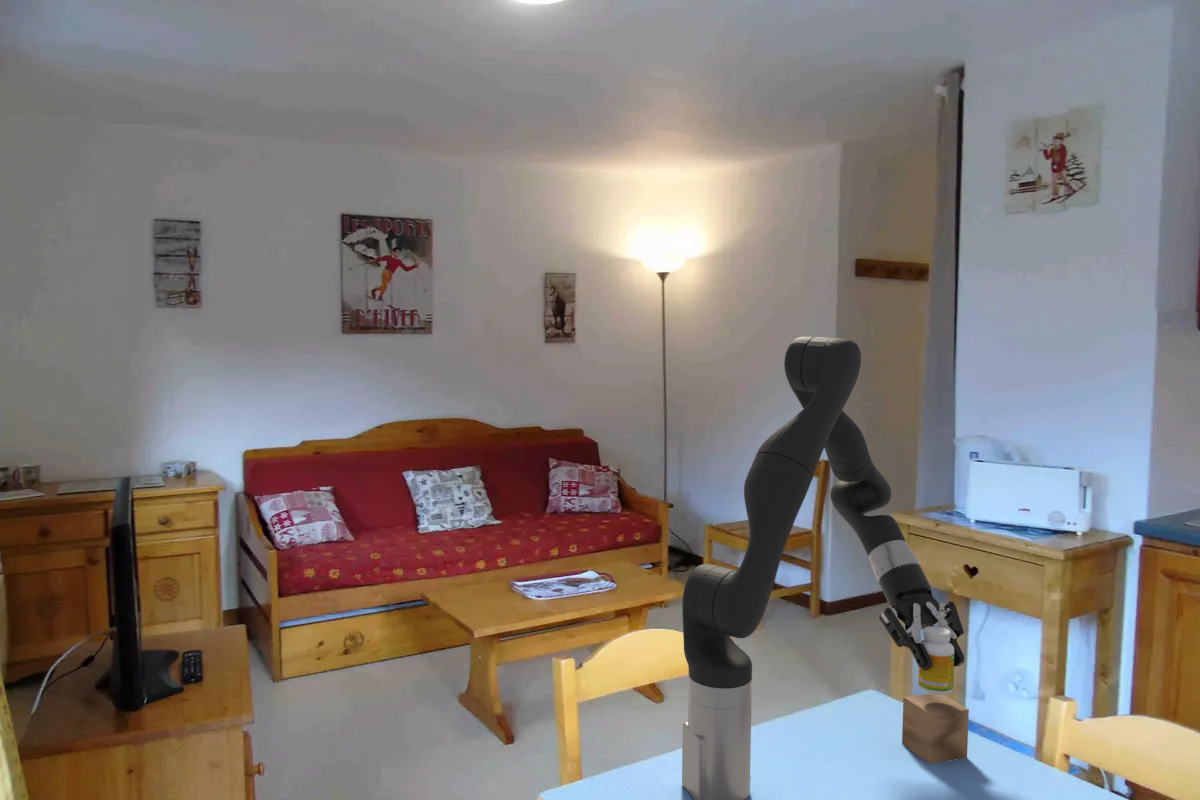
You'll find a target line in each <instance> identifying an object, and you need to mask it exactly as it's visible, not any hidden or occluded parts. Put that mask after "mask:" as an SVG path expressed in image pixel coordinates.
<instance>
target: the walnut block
mask: <svg viewBox="0 0 1200 800" xmlns="http://www.w3.org/2000/svg"><path fill="white" fill-rule="evenodd" d="M902 698H903V700H902V702H903V703H902V731H901V737H902V738H901V739H902V740H901V745H902V746H904V747H905V748H907V749H908V750H910V751H911V752H913V753H914V754H916V755H917V756H918V757H920V758H922V760H924V761H925V762H927V763H928V764H930V765H933V764H938V763H939V764H940V763H945V762H950V761H949V760H951V761H955V759H957V760H962V758H963V759H967V758H968V743H969V742H968V741H969V715H970V714H969V713H970V710H969V708H967V707H966V706H964V705H961V704H960V703H958V702H956V701H954V700H953V699H951V698H949V697H948V696H946V694H944V695H938V694H931V693H922V694H916V695H909V696H903V697H902Z"/></svg>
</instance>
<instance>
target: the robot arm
mask: <svg viewBox="0 0 1200 800" xmlns="http://www.w3.org/2000/svg"><path fill="white" fill-rule="evenodd" d="M861 365H862V352H861V349H860V347H859V346H858V344H857V343H856V342H855V341H854V340H851V339H848V338H847V339H846V338H842V337H825V336H799V337H796V338H794V339H793V340H792V341H791V342H790V343H789V345H788V347H787V348H786V352H785V355H784V371H785V372H784V373H785V375H786V376H785V377H786V379H787V382H788V385H789V386H790V389H791V390H792V392H793V393H794V395H795V397H796V398H797V400H798V402H799V403H800V405H801V407H802V410H800V412H798V413H797V415H795V416H794V417H793V418H791V419H790V420H789V421H787V422H786V423H785V424H783V425H782V426H781V427H779V428H778V429H777V430H776V431H774V432H773V433H772V434H770V436H769V437H768V438H767V439H765V441H764V442H763V443H762V444H761V446H760V447H759V448H758V450H757V452H756V454H755V457H754V460H753V461H752V464H751V466H750V468H749V470H748V473H747V476H746V478H745V480H744V484H743V485H744V486H743V496H744V504H745V509H746V515H747V521H748V527H749V528H748V529H749V538H748V542H747V543H748V544H747V546H746V547H747V548H746V551H745V553H744V556H743V558H742V562H741V564H740V566H739V568H738V569H732V568H730V567H725V566H720V565H716V564H711V563H702V564H700V565H697V566H696V567H695V568H694V569H692V571H691V572H690V573H689V574H688V577H687V579H686V581H685V584H684V588H683V592H682V593H683V594H682V603H681V604H682V605H681V606H682V607H681V608H682V609H681V611H682V635H683V651H684V652H683V653H684V657H685V660H686V663H687V666H688V692H687V693H688V695H687V699H688V701H687V702H688V703H687V704H688V705H687V707H688V708H687V721H684V722H683V723H682V741H681V742H682V743H681V744H682V746H681V747H682V753H681V758H682V759H681V762H682V763H681V785H682V786H683V787H684V789H685V790H686V791H687V792H688V793H689V795H690V796H691V797H692V799H693V800H747V799H748V798H749V796H750V793H751V778H752V777H751V760H752V759H751V758H752V757H751V752H752V751H751V749H752V748H751V747H752V746H751V744H752V702H753V701H752V699H753V694H752V693H753V691H752V689H753V663H752V660H751V658H750V656H749V655H748V654H747V652H745V651H744V650H743V649H742V648H740V647H739V645H737V644H736V643H735V641H734V640H733V639H732V638H736V639H745V638H748V637H750V636H751V635H752V634H753V633H754V632H755V631H756V630H757V628H758V627H759V626H760V624H761V621H762V619H763V617H764V615H765V612H766V610H767V607H768V603H769V600H770V598H771V593H772V590H773V587H774V584H775V581H776V578H777V577H776V576H777V574H778V570H779V566H780V562H781V560H782V557H783V555H784V554H783V553H784V551H785V548H786V545H787V542H788V540H789V537H790V534H791V532H792V529H793V526H794V524H795V521H796V518H797V516H798V514H799V512H800V509H801V507H802V505H803V503H804V500H805V498H806V496H807V494H808V491H809V488H810V486H811V484H812V482H813V478H814V476H815V473H816V470H817V467H818V464H819V461H820V458H821V456H822V454H823V451H824V450H825V451H824V452H825V454H826V457H827V459H828V463H829V465H830V469H831V471H832V474H833V475H834V476H835V478H836V479H838V480H840V481H838V482H836V483H834V484H833V486H832V487H831V490H830V501H831V503H832V505H833V507H834V508H835V510H836V511H837V512H838V514H839V515H840V516H841V517H842V518H843V519H844V520H845V521H846V522H847V523H848V525H849V526H850V527H851V529H852V530H853V531H854V532H855V533H856V535H857V537H858V538H859V540H860V542H861V544H862V546H863V548H864V550H865V552H866V554H867V557H868V559H869V562H870V565H871V568H872V571H873V573H874V575H875V578H876V580H877V582H878V584H879V586H880V588H881V590H882V592H883V594H884V596H885V597H884V598H885V599H886V601H887V603H888V605H890V606H891V608H890V607H886V608H885V609H884V610H883V611H882V612H881V613H880V614H879V615H878V619H879V620H880V622H881V623H882V624H883V626H884V628H885V629H886V631H887V632H888V634H889V636H890V637H891V639H892V640H893V642H894V643H895V645H896V646H897V647H899V648H902V647H905V648H908V650H910V651H911V653H912V656H913V658H914V660H915V662H916V664H917V667H918V666H919V667H921V668H922V670H923V671H926V670H929V669H930V668H931V667H932V666H933V663H932V661H931V659H930V657H929V655H928V653H927V651H926V648H925V646H924V644H920V642H921V641H922V639H921V638H922V637H921V636H922V635H921V630H924V628H925V627H928V626H936V624H938V625H937V627H942V628H945V629H948V630H949V631H950V641H949V643H950V644H952V645H953V647H954V668H956V667H960V666H961V665H963V664H964V662H965V655H964V652H963V651H962V649H961V646H960V644H959V643H958V641H957V640H958V639H959V638H960V637H961V636H962V635H964V633H965V631H964V628H963V626H962V622H961V618H960V615H959V612H958V610H957V606H956V604H955V602H953V601H951V600H950V601H948V602H947V603H942V602H939V601H938V600H937V599H936V598H935V597H934V596H933V593H932V587H931V584H930V582H929V580H928V578H927V576H926V575H925V571H923V568H922V567H921V564H920V562H919V561H918V559H917V557H916V554H915V553H914V551H913V550H912V548H911V546H909V544H908V542H907V540H906V538H905V536H904V534H903V532H902V530H901V528H900V526H899V524H898V523H897V521H896V519H895V518H894V516H893V517H892V516H891V515H888V514H878V515H865V514H868V513H870V512H873V511H876V510H878V509H881V508H884V507H885V506H887V505H888V504H889V502H890V500H891V498H892V489H891V485H890V484H889V482H888V481H887V479H886V477H884V476H883V474H882V473H881V472H880V471H879V470H878V468H877V467H876V466H875V464H874V462H873V460H872V458H871V455H870V452H869V448H868V444H867V442H866V439H865V437H864V434H863V432H862V430H861V428H860V427H859V426H858V425H857V423H856V422H855V421H854V420H853V418H851V417H850V416H849V415H848V414H847V413H846V412H845V411H844V410H843V409H844V408H845V405H846V403H847V402H848V400H849V398H850V396H851V394H852V392H853V389H854V388H855V385H856V383H857V380H858V378H859V374H860V371H861ZM901 622H902V623H901ZM731 637H732V638H731Z"/></svg>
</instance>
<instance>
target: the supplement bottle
mask: <svg viewBox="0 0 1200 800" xmlns="http://www.w3.org/2000/svg"><path fill="white" fill-rule="evenodd" d="M937 626H938V625H937ZM937 626H936V625H934V626H928V627H925V628H924V629H923V639H921V642H920V644H924V646H925V648H926V651H927V653H928V655H929V657H930V659H931V661H932V663H933V666H932V667H931V668H930V669H929V670H926V671H923V670H922V668H921V667H919V666H918V665H917V687H918V688H919V689H920V690H922V691H924V692H925V693H927V694H929V693H931V694H938V695H949V694H951V693H952V692H953V691H954V673H955V667H954V647H953V645H952V644H950V643H949V641H950V631H949V630H948V629H945V628H942V627H937Z"/></svg>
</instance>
